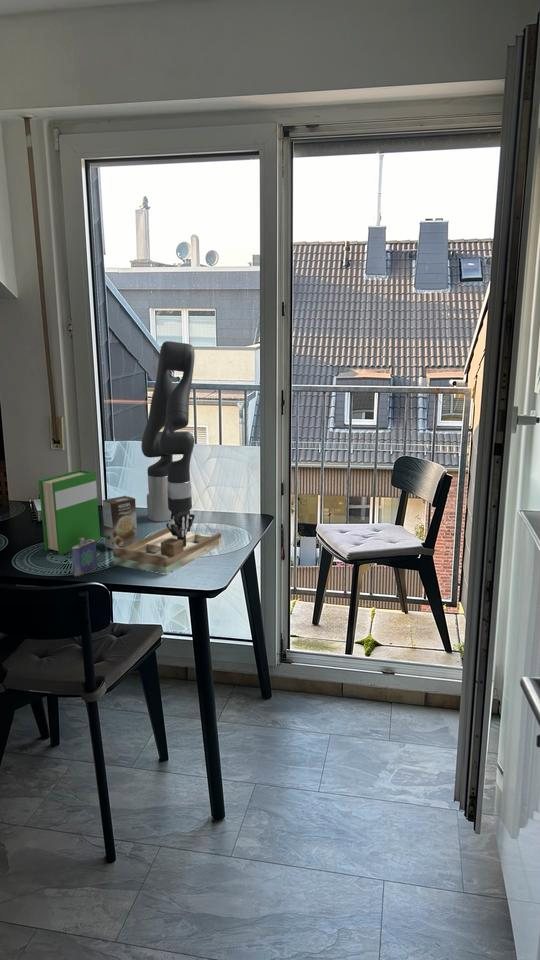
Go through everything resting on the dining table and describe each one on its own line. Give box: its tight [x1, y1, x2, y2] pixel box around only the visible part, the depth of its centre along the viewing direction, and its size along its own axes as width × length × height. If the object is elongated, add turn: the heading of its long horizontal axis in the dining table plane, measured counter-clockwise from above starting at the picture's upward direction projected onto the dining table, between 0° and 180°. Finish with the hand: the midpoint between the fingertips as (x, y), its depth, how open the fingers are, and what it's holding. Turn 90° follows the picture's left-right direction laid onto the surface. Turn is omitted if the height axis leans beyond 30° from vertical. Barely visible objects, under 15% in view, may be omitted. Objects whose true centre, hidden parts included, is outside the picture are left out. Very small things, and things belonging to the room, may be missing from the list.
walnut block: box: [161, 538, 184, 557], centre depth 216 cm, size 5×5×4 cm
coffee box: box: [102, 495, 138, 550], centre depth 230 cm, size 9×6×16 cm
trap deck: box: [112, 527, 222, 574], centre depth 222 cm, size 20×31×6 cm, turn 152°
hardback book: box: [38, 469, 101, 555], centre depth 230 cm, size 18×7×24 cm, turn 147°
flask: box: [71, 538, 98, 577], centre depth 208 cm, size 9×3×11 cm, turn 151°
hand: (182, 546), depth 220 cm, fingers closed
